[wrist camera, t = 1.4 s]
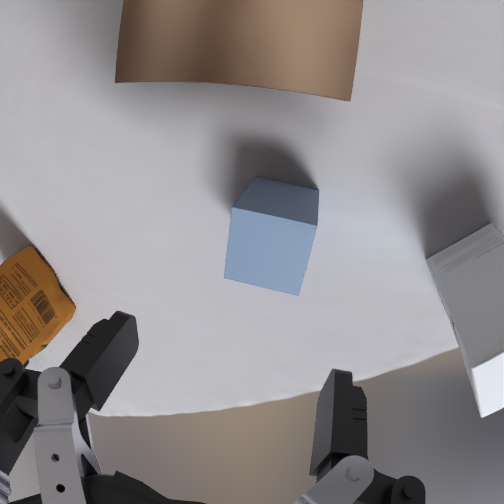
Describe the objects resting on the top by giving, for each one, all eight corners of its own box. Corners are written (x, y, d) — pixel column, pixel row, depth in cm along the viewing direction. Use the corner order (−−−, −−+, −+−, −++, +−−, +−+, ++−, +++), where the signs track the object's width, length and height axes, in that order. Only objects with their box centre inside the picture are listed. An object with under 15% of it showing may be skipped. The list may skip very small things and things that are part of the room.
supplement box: (423, 257, 24) (469, 367, 13) (491, 220, 21) (569, 308, 10) (444, 315, 26) (479, 421, 15) (505, 282, 23) (561, 375, 12)
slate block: (319, 190, 24) (317, 225, 18) (305, 246, 26) (298, 295, 20) (255, 176, 24) (232, 207, 18) (247, 233, 27) (223, 278, 21)
